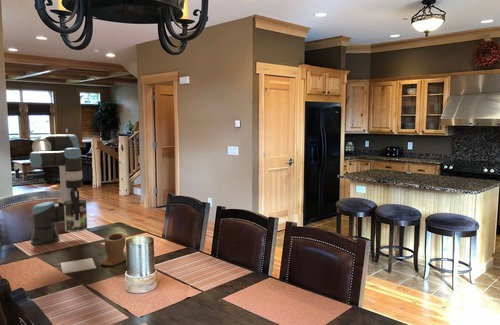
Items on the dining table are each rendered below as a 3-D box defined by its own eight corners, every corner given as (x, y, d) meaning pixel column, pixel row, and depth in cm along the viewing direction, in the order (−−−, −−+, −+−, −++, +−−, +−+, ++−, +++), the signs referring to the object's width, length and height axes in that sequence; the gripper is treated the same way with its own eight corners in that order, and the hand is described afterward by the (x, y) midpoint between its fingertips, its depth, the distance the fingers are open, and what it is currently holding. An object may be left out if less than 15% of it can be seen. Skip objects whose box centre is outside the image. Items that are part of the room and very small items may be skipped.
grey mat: (60, 263, 200) (60, 263, 200) (92, 258, 208) (92, 258, 207) (62, 273, 187) (62, 272, 187) (96, 268, 194) (96, 267, 194)
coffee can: (91, 228, 196) (90, 201, 195) (71, 233, 188) (70, 204, 187) (80, 225, 203) (79, 198, 201) (60, 229, 195) (59, 201, 193)
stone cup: (113, 269, 193) (112, 239, 192) (96, 265, 199) (95, 236, 197) (136, 260, 206) (135, 232, 205) (120, 256, 212) (119, 229, 210)
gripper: (63, 177, 201) (66, 219, 203) (67, 183, 181) (69, 230, 184) (79, 176, 204) (81, 218, 207) (85, 182, 185) (87, 228, 187)
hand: (76, 223), depth 195 cm, fingers closed on coffee can, 10 cm apart
